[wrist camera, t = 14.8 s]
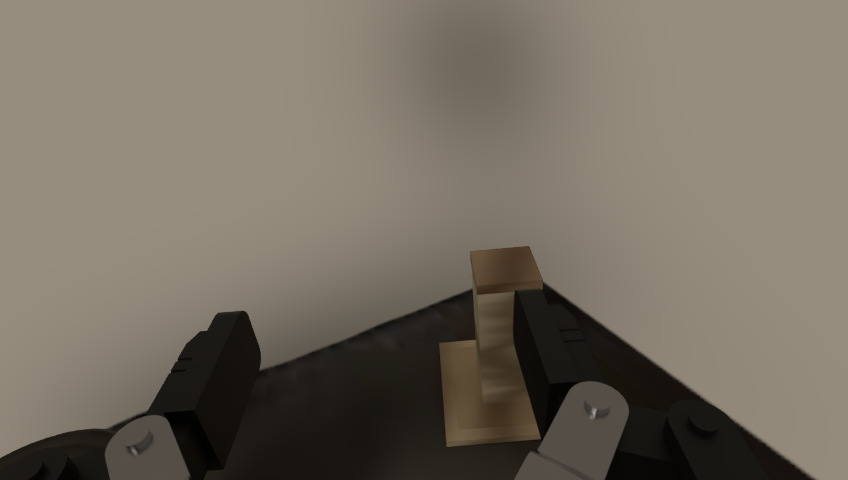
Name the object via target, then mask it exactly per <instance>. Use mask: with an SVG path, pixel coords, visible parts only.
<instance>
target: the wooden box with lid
mask: <svg viewBox="0 0 848 480" xmlns="http://www.w3.org/2000/svg"><path fill="white" fill-rule="evenodd" d="M470 257H471V265H472V280H473V281H472V282H473V300H474V318H475V336H476V354H477V367H478V373H479V380H480V387H481V393H482V400H483V404H486V403H499V402H512V401H525V400H530V399H529V396H528V392H527V389H526V385H525V382H524V378H523V375H522V371H521V368H520V364H519V361H518V357H517V354H516V350H515V346H514V339H513V313H514V293H515V290H525V289H537V288H540V289H541V290H542V289H543V279H542V277H541V274H540V272H539V270H538V267H537V265H536V262H535V260H534V257H533V255H532V252H531V250H530V247H529V246H525V247H513V248H503V249H491V250H479V251H470Z"/></svg>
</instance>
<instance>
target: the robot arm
mask: <svg viewBox="0 0 848 480" xmlns="http://www.w3.org/2000/svg"><path fill="white" fill-rule="evenodd" d="M513 339H514V346H515V350H516V354H517V357H518V361H519V364H520V368H521V371H522V375H523V378H524V382H525V385H526V389H527V392H528V396H529V399H530V402H531V406H532V409H533V413H534V416H535V420H536V423H537V427H538V430H539V434H540V437H541V441H542V443H541V445H540V447H539V448H538V450H537V451H535V450H532V451H531V452H530V453H529V454H528V456H527V457H526V459H525V461H524V463H523V464H522V466H521V468H520V470H519V472H518V474H517V475H516V477H515V479H514V480H770V478H769V477H768V475H767V474H766V472H765V470H764V469H763V467H762V466H761V464H760V463H759V461H758V460H757V458H756V457H755V455H754V453H753V452H752V450H751V449H750V447H749V446H748V444H747V443H746V441H745V439H744V438H743V436H742V435H741V433H740V432H739V430H738V429H737V427H736V425H735V424H734V423H733V421H732V420H731V419H730V418H729V417H728V416H727V415H726V414H725V413H724V412H722V411H721V410H719V409H718V408H716V407H714V406H713V405H711V404H708V403H705V402H702V401H698V400H690V399H687V400H681V401H677V402H675V403H674V404H673V405H671V407H670V408H669V411H668V412H666V411H661V410H656V409H651V408H645V407H641V406H637V405H634V404H631V403H629V402H627V401H626V400H625V399H624V397H623V396H622V395H621V394H620V393H619V392H618V391H616V390H615V389H614V388H612V387H610V386H608V385H607V384H606V382H605V380H604V378H603V376H602V374H601V372H600V370H599V368H598V366H597V364H596V361H595V359H594V357H593V355H592V353H591V351H590V349H589V347H588V345H587V343H586V342H585V339H584V337H583V335H582V332H581V331H580V328H579V326H578V324H577V322H576V320H575V318H574V316H573V315H572V314H571V313H570V312H569V311H568V310H567V309H566V308H564V307H563V306H562V305H561V304H555V305H548V303H547V301H546V299H545V296H544V294H543V292H542V290H541V289H540V288H537V289H525V290H515V293H514V313H513ZM260 363H261V353H260V348H259V345H258V342H257V339H256V336H255V334H254V331H253V328H252V325H251V322H250V319H249V316H248V314H247V313H246V312H245V311H235V312H223V313H218V314H217V315H216V316H215V317H214V319H213V321H212V323H211V325H210V327H209V328H208V330H207V331H200V332H199V333H198V334H197V335H196V336H195V337H194V338H193V339H191V341H189V342H188V343H187V344H186V346H185V347H184V349H183V351H182V352H181V354H180V356H179V358H178V362H176V363H175V364H174V366H173V368H172V370H171V373H170V374H169V375H168V377H167V378H166V380H165V382H164V384H163V385H162V387H161V389H160V391H159V392H158V394H157V396H156V398H155V399H154V401H153V403H152V405H151V406H150V408H149V410H148V411H147V413H146V415H145V417H141V418H139V419H136V420H134V421H132V422H130V423H129V424H127V425H126V426H124V427H123V428H122V429H120V430H119V431H118V432H117V433H116V434H115V435H114V436H113V437H112V439H111V440H110V442H109V443H108V445H107V446H106V447H103V448H100V449H97V450H94V451H91V452H88V453H85V454H82V455H79V456H76V457H73V458H70V457H69V456H68V455H67V453H66V452H65V451H64V450H63V449H61V448H57V447H49V448H44V449H41V450H37V451H35V452H33V453H31V454H29V455H27V456H25V457H23V458H22V459H20V460H19V461H17V462H16V463H14V464H13V465H12V466H11V467H10V468H8V469H7V470H6V471H5V472H4V473H3V475H2V476H1V477H0V480H203V479H204V477H205V474H206V472H207V471H209V470H222V469H224V466H225V464H226V461H227V458H228V455H229V452H230V450H231V447H232V444H233V441H234V438H235V436H236V433H237V430H238V427H239V425H240V422H241V419H242V416H243V413H244V411H245V408H246V405H247V402H248V399H249V397H250V394H251V391H252V388H253V385H254V383H255V380H256V377H257V374H258V372H259V368H260Z"/></svg>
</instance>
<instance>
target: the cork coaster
mask: <svg viewBox="0 0 848 480" xmlns="http://www.w3.org/2000/svg"><path fill="white" fill-rule="evenodd" d="M439 348H440V361H441V375H442V389H443V403H444V417H445V431H446V444H447V447H451V446H463V445H476V444H488V443H500V442H512V441H524V440H536V439H541V437H540V434H539V430H538V427H537V423H536V420H535V416H534V413H533V409H532V406H531V402H530V400H525V401H512V402H499V403H486V404H483V400H482V393H481V387H480V380H479V373H478V367H477V354H476V340H468V341H457V342H446V343H439Z"/></svg>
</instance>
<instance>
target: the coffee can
mask: <svg viewBox="0 0 848 480" xmlns="http://www.w3.org/2000/svg"><path fill="white" fill-rule="evenodd" d="M116 433H117V431H112V430H106V429H85V430H77V431H72V432H66V433H62V434H59V435H56V436H52V437H49V438H45V439H43V440H40V441H37V442H34V443H31V444H29V445H27V446H24V447H22V448H20V449H17V450H15V451H13V452H11V453H10V454H7V455H5V456H3V457H1V458H0V477H1V476H2V475H3V473H4V472H5V471H6V470H7V469H8V468H10V467H11V466H12V465H13V464H14V463H16V462H17V461H19V460H20V459H22V458H23V457H25V456H27V455H29V454H31V453H33V452H35V451H37V450H41V449H44V448H49V447H57V448H61V449H63V450H64V451H65V452H66V453H67V455H68V456H69V457H70V458H73V457H76V456H79V455H82V454H85V453H88V452H91V451H94V450H97V449H100V448H103V447H106V446H107V445H108V443H109V442H110V440H111V439H112V437H113V436H114V435H115V434H116Z"/></svg>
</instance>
